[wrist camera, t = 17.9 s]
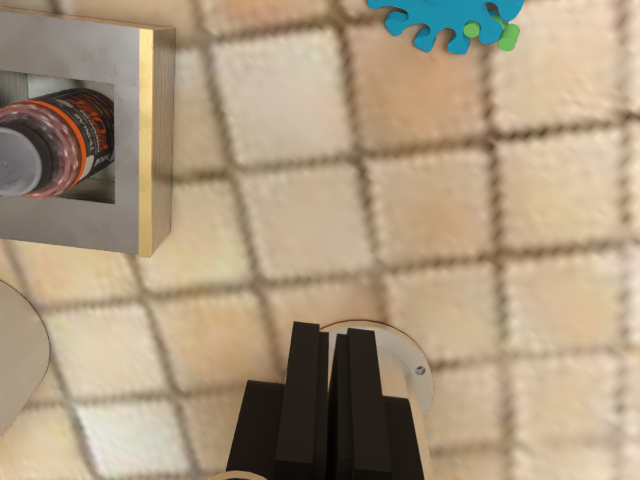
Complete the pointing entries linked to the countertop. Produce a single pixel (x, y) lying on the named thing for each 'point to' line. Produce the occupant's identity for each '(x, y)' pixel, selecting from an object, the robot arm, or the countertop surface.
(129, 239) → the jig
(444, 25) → the cyan jagged piece
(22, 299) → the utensil holder
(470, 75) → the countertop surface
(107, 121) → the supplement bottle
